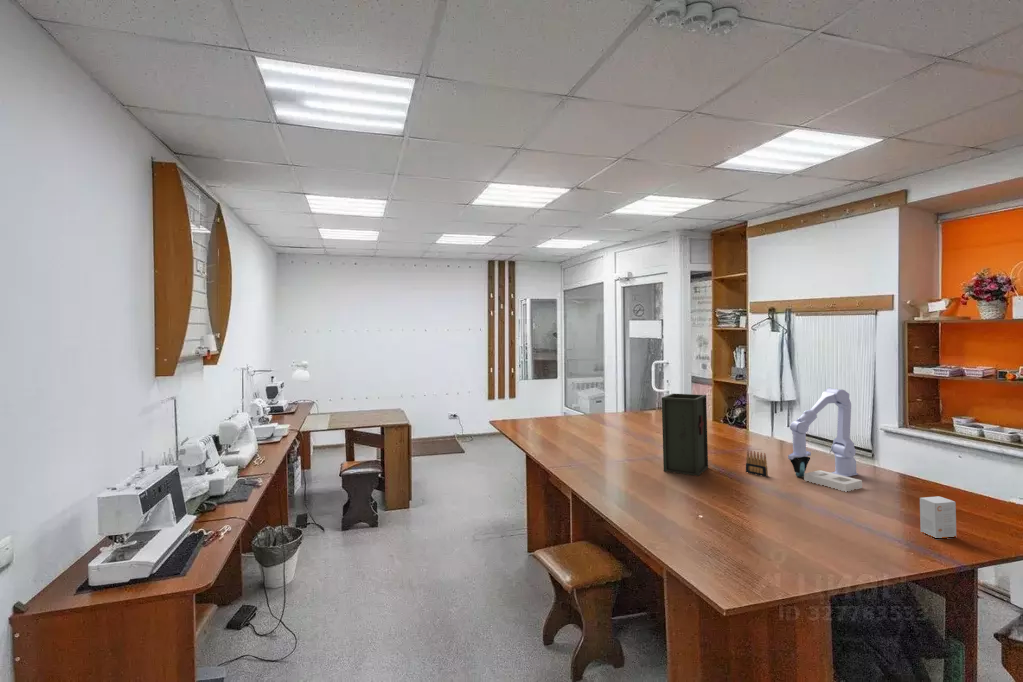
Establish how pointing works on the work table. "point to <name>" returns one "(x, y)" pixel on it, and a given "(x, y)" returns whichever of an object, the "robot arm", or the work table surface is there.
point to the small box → (938, 516)
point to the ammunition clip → (756, 464)
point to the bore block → (833, 480)
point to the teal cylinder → (801, 470)
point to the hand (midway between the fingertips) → (800, 471)
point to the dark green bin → (685, 433)
